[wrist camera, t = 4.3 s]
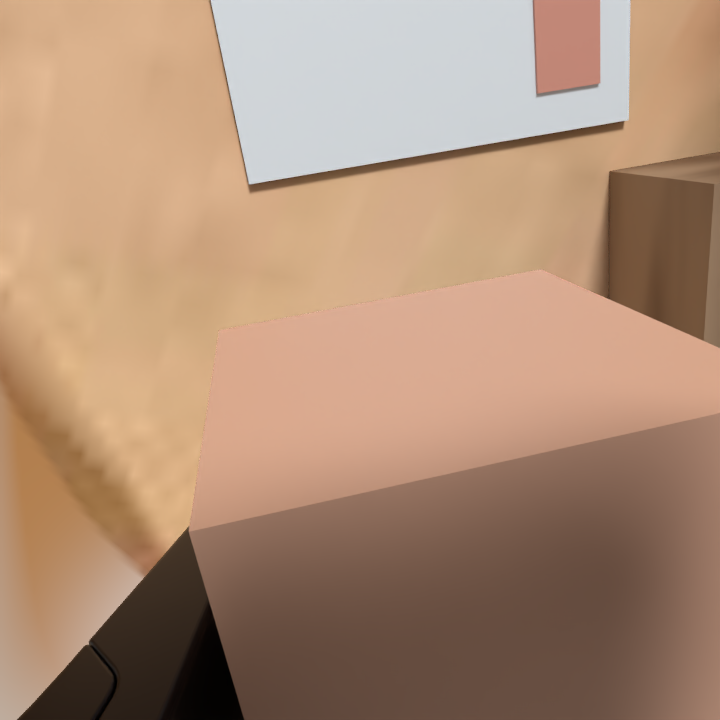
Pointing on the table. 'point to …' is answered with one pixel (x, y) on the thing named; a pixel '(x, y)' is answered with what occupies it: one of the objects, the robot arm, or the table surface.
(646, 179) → the walnut block
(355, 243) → the table surface
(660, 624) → the block
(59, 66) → the table surface
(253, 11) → the envelope
